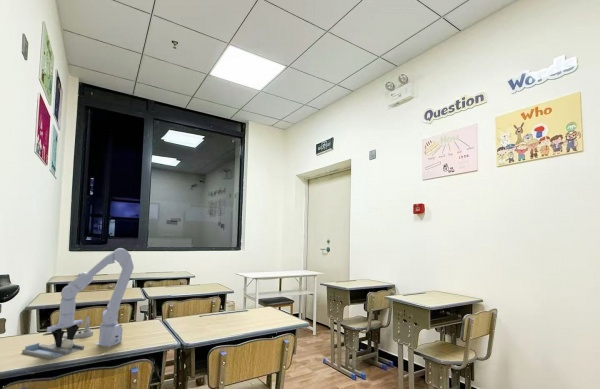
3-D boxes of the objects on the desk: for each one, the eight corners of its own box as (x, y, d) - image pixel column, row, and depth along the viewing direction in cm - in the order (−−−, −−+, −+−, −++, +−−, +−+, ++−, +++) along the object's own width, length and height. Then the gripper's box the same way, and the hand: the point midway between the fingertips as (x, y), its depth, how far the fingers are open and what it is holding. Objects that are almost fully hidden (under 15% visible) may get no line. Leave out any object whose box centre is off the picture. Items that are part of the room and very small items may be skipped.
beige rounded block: (73, 348, 146) (74, 338, 146) (64, 351, 142) (65, 341, 143) (62, 346, 148) (63, 336, 149) (53, 348, 145) (54, 339, 145)
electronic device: (57, 319, 161) (93, 314, 169) (56, 340, 160) (92, 334, 168) (56, 321, 156) (94, 317, 165) (55, 343, 155) (93, 337, 164)
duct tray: (83, 349, 145) (84, 342, 146) (50, 360, 132) (51, 353, 133) (56, 344, 152) (57, 337, 152) (21, 354, 139) (22, 347, 139)
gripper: (76, 309, 155) (73, 339, 153) (43, 315, 142) (40, 349, 140) (87, 310, 153) (84, 341, 151) (54, 317, 139) (51, 351, 138)
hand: (63, 345), depth 145 cm, fingers closed on beige rounded block, 4 cm apart
